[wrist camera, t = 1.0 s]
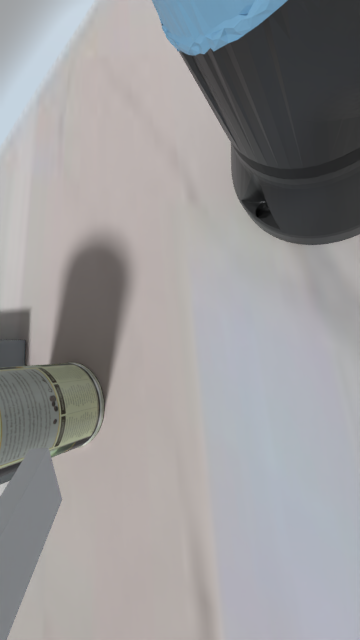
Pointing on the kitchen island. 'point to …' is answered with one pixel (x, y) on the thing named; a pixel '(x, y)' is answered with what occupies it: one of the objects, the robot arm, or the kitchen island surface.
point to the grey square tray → (11, 356)
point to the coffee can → (47, 410)
